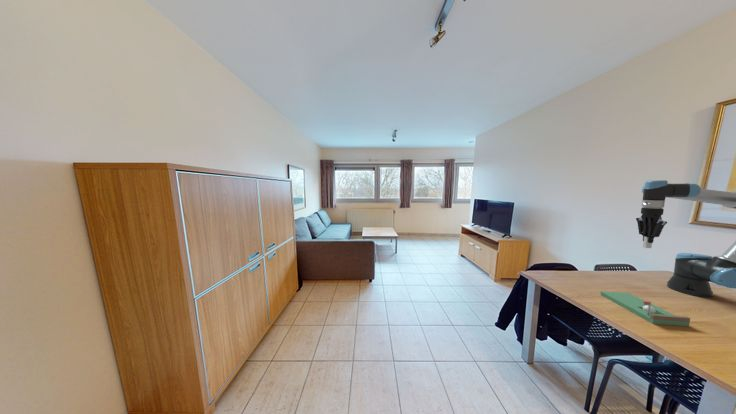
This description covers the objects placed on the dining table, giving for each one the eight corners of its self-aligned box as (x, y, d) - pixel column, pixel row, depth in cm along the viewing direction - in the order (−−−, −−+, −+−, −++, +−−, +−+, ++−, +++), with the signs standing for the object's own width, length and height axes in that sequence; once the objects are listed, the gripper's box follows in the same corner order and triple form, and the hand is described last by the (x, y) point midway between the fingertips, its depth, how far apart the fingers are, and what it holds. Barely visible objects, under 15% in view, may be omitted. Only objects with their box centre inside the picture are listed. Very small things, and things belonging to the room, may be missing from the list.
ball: (648, 311, 106) (649, 304, 106) (657, 316, 103) (659, 309, 102) (639, 310, 107) (640, 303, 106) (648, 315, 103) (650, 308, 102)
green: (628, 296, 121) (630, 281, 120) (689, 326, 95) (692, 308, 94) (598, 294, 123) (600, 280, 122) (650, 323, 97) (652, 305, 96)
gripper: (631, 206, 124) (627, 244, 127) (658, 208, 111) (652, 251, 114) (646, 206, 123) (641, 244, 126) (675, 209, 110) (669, 251, 113)
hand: (647, 247), depth 120 cm, fingers closed
